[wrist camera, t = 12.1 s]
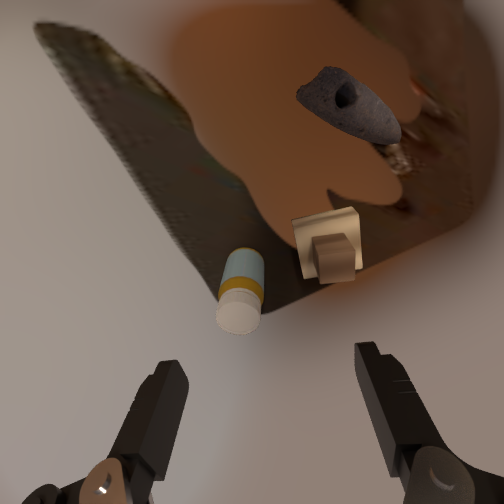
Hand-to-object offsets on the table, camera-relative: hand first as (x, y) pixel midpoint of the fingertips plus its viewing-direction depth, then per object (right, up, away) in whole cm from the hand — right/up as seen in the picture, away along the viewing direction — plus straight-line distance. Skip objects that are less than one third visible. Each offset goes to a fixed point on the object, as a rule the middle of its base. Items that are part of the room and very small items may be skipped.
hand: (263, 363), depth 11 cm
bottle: (-2, +3, +36) cm, 36 cm away
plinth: (+12, +7, +33) cm, 36 cm away
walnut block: (+12, +6, +29) cm, 32 cm away
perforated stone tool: (+13, +25, +23) cm, 36 cm away
